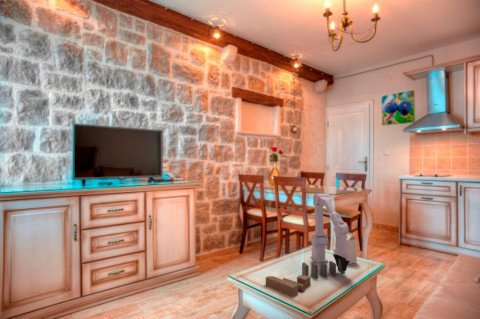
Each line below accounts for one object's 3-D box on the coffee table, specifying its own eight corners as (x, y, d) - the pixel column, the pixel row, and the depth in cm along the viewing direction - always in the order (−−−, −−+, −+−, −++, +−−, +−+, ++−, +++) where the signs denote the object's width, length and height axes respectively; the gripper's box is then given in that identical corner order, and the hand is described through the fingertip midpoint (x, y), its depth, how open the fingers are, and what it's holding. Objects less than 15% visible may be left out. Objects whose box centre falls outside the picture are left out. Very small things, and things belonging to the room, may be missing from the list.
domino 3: (324, 277, 148) (324, 264, 148) (320, 273, 153) (320, 261, 153) (327, 277, 148) (327, 264, 148) (322, 273, 153) (322, 261, 153)
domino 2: (315, 278, 147) (315, 265, 147) (311, 274, 152) (311, 262, 152) (317, 277, 147) (317, 265, 147) (313, 274, 152) (313, 261, 152)
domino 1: (305, 278, 146) (305, 266, 146) (302, 275, 151) (302, 262, 151) (308, 278, 146) (308, 265, 146) (304, 274, 151) (304, 262, 151)
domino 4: (333, 276, 149) (333, 264, 149) (329, 273, 154) (329, 261, 154) (336, 276, 149) (336, 264, 149) (331, 273, 154) (331, 260, 154)
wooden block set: (295, 286, 126) (264, 275, 138) (295, 298, 126) (264, 286, 138) (312, 275, 138) (283, 265, 150) (312, 286, 138) (283, 275, 150)
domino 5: (340, 270, 155) (340, 258, 155) (344, 274, 150) (344, 261, 150) (337, 270, 155) (337, 258, 155) (342, 274, 150) (342, 261, 150)
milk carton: (349, 259, 176) (349, 230, 176) (356, 263, 169) (356, 233, 170) (340, 260, 174) (340, 231, 174) (347, 264, 167) (347, 234, 167)
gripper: (328, 241, 159) (328, 264, 159) (342, 249, 145) (341, 274, 145) (339, 241, 160) (339, 263, 160) (353, 248, 146) (353, 273, 146)
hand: (341, 268), depth 152 cm, fingers closed on domino 5, 5 cm apart
